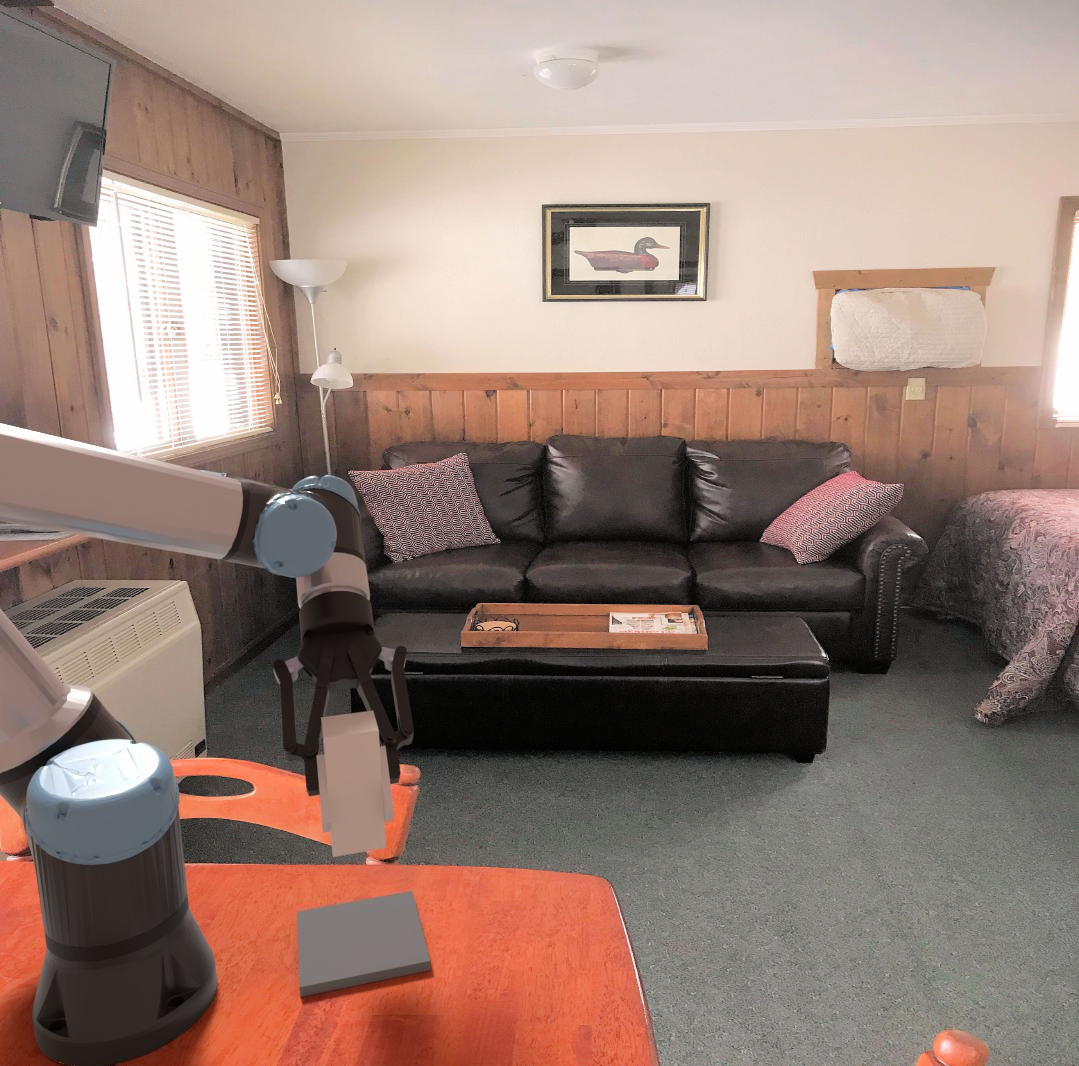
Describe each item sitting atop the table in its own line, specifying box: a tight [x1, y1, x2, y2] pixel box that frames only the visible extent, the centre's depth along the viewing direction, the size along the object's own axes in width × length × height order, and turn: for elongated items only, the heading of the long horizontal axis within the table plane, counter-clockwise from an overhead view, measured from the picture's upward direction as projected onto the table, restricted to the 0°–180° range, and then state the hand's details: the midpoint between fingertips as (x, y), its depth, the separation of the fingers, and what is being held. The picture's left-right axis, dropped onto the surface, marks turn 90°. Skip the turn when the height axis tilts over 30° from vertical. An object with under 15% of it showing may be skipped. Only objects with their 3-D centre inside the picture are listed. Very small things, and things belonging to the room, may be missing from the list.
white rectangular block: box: [321, 710, 387, 858], centre depth 86 cm, size 5×5×12 cm
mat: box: [296, 890, 432, 998], centre depth 89 cm, size 12×12×1 cm
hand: (358, 822), depth 83 cm, fingers closed on white rectangular block, 5 cm apart
